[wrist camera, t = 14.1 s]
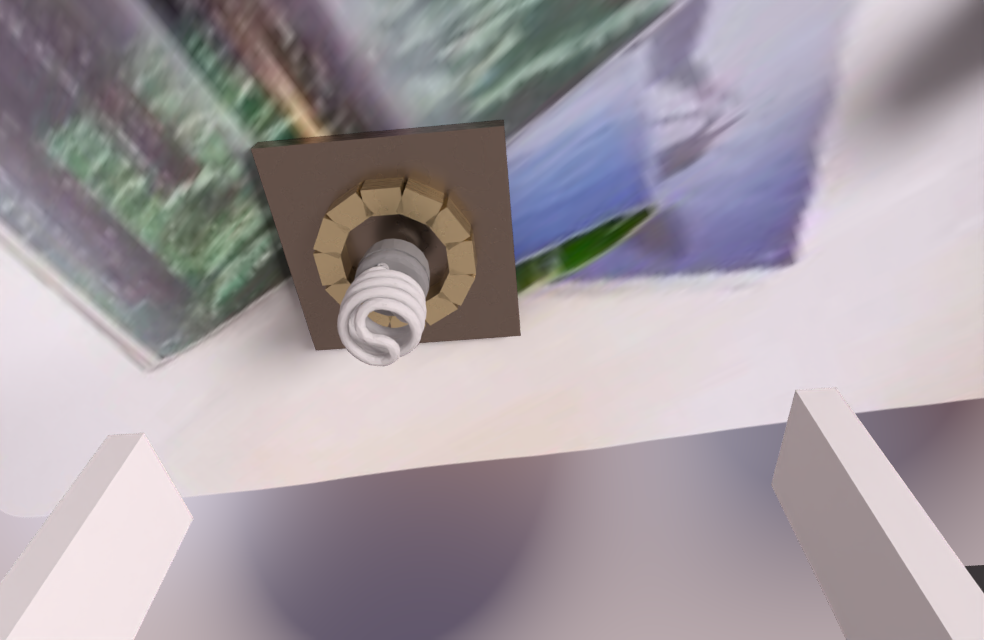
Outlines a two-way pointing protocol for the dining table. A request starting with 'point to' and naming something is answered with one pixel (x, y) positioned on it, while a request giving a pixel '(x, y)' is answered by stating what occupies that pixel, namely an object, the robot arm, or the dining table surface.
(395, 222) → the lamp base
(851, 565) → the robot arm
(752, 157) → the dining table surface
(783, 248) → the dining table surface
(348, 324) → the light bulb
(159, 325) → the dining table surface
